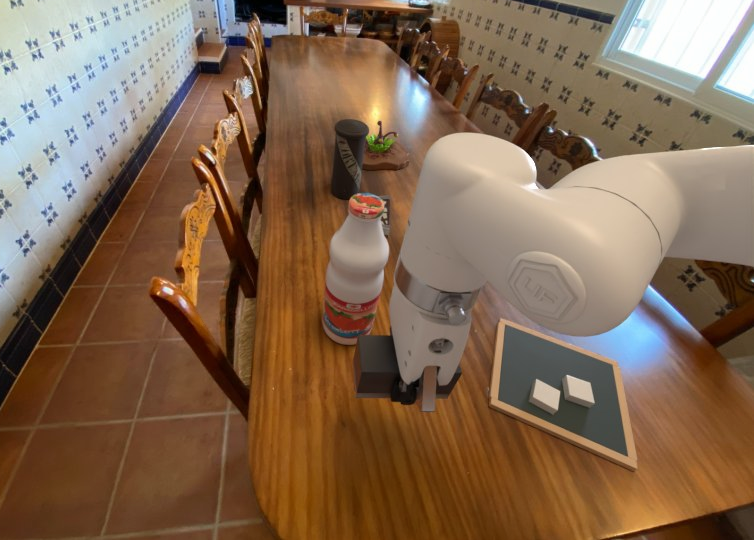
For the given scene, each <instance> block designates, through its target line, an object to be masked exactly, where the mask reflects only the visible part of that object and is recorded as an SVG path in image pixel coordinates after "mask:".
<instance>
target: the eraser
mask: <svg viewBox="0 0 754 540" xmlns="http://www.w3.org/2000/svg"><path fill="white" fill-rule="evenodd" d="M352 372H353V385H354V397H355V399H391V398H390V396H391V393H392V390H393V387H394V385H395V382H396V381H397V380H400V376H401V374H400V370H399V366H398V361H397V355H396V350H395V345H394V339H393V335H390V334H389V335H387V334H369V335H358V338H357V343H356V344H355V348H354V353H353V358H352ZM462 375H463V371H462V367H461V364H460V363H459V364H458V367H457V369H456V371H455V373H454V375H453V377H452V379H451V381H450V382H449V383H448V384H447V385H440V386H439V383H438V379H437V377H436V396H435V400H437V399H438V400H439V399H440V400H447V399H448V398H449V397H450V395H451V393H452V392H453V390H454V388H455V387H456V385H457V383H458V382H459V379H461V376H462ZM419 379H420V378H419Z"/></svg>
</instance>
